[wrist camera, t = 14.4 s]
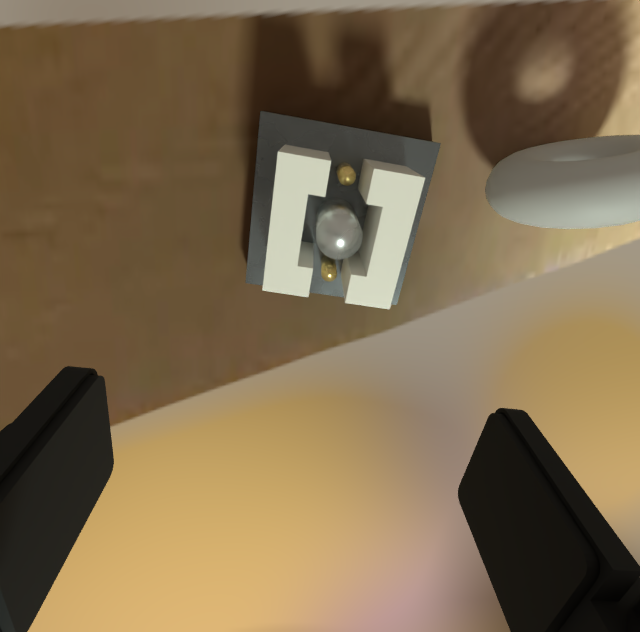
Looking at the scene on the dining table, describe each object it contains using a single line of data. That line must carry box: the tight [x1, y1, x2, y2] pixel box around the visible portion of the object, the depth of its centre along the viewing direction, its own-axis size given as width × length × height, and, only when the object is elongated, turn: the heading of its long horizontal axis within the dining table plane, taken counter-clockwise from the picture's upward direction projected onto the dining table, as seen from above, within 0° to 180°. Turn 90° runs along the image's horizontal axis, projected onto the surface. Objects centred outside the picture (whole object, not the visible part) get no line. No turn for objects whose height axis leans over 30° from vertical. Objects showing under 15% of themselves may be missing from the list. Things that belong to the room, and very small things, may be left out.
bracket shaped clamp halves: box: [262, 145, 425, 309], centre depth 24 cm, size 8×8×5 cm
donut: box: [485, 135, 640, 229], centre depth 23 cm, size 10×4×10 cm, turn 100°
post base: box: [246, 111, 441, 305], centre depth 25 cm, size 11×11×6 cm
